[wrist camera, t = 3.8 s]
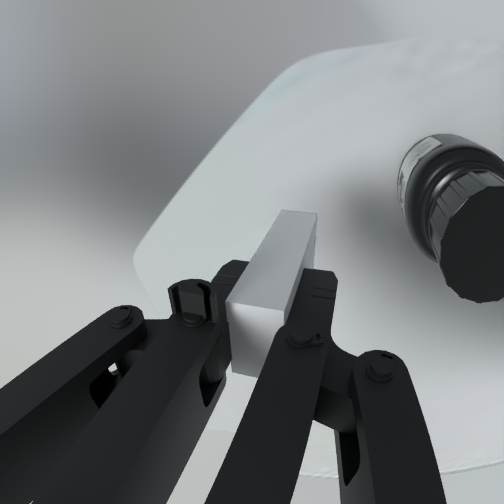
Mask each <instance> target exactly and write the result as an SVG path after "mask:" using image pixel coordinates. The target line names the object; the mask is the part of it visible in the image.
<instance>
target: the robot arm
mask: <svg viewBox="0 0 504 504" xmlns="http://www.w3.org/2000/svg"><path fill="white" fill-rule="evenodd" d="M316 227H317V213H310V212H300V211H290V210H282V211H281V212H280V214H279V215H278V217H277V219H276V220H275V222H274V224H273V225H272V227H271V228H270V230H269V232H268V233H267V235H266V236H265V238H264V240H263V241H262V243H261V244H260V246H259V248H258V249H257V251H256V253H255V254H254V256H253V257H252V259H251V261H250V262H248V261H240V260H232V261H230V262H228V263H227V264H225V265H223V266H222V267H221V269H220V270H219V271H218V273H217V274H216V276H215V277H214V278H213V280H212V281H211V283H210V282H208V281H205V280H202V279H188V280H182V281H180V282H177V283H175V284H173V285H172V286H170V287H169V288H168V294H169V299H170V303H171V308H172V313H173V314H172V315H171V316H170V318H169V319H157V320H156V319H155V320H154V319H152V320H151V319H147V320H146V319H144V316H143V313H142V311H141V310H140V309H139V308H138V307H135V306H132V305H122V306H118V307H114V308H113V309H111V310H109V311H107V312H106V313H104V314H103V315H101V316H100V317H98V318H97V319H96V320H94V321H93V322H91V323H90V324H88V325H87V326H86V327H84V328H83V329H81V330H80V331H79V332H77V333H76V334H74V335H73V336H72V337H70V338H69V339H67V340H66V341H65V342H63V343H62V344H61V345H59V346H58V347H56V348H55V349H54V350H53V351H51V352H49V353H48V354H47V355H45V356H44V357H43V358H41V359H40V360H39V361H37V362H36V363H34V364H33V365H32V366H30V367H29V368H28V369H26V370H25V371H24V372H22V373H21V374H20V375H18V376H17V377H16V378H14V379H13V380H12V381H10V382H9V383H8V384H6V385H5V386H4V387H2V388H1V389H0V504H30V503H31V502H32V501H33V500H34V501H33V502H32V503H31V504H166V503H167V501H168V499H169V497H170V495H171V493H172V491H173V489H174V487H175V485H176V484H177V482H178V480H179V478H180V476H181V474H182V472H183V470H184V468H185V466H186V464H187V462H188V460H189V458H190V456H191V454H192V452H193V450H194V448H195V446H196V444H197V442H198V440H199V438H200V436H201V434H202V432H203V430H204V428H205V426H206V424H207V422H208V420H209V418H210V416H211V414H212V412H213V410H214V408H215V406H216V404H217V402H218V400H219V398H220V395H221V393H222V391H223V389H224V387H225V384H226V370H227V368H228V366H229V364H230V362H231V367H232V372H234V373H238V374H243V375H247V376H252V377H257V378H258V380H257V383H256V385H255V388H254V390H253V393H252V395H251V397H250V400H249V402H248V405H247V407H246V410H245V412H244V414H243V417H242V419H241V422H240V424H239V426H238V429H237V431H236V434H235V436H234V438H233V441H232V443H231V445H230V448H229V450H228V452H227V454H226V457H225V459H224V461H223V464H222V466H221V468H220V470H219V472H218V475H217V477H216V479H215V482H214V484H213V486H212V488H211V490H210V492H209V494H208V497H207V499H206V501H205V503H204V504H290V502H291V499H292V496H293V492H294V489H295V485H296V482H297V479H298V475H299V471H300V468H301V464H302V460H303V457H304V453H305V449H306V445H307V441H308V437H309V433H310V429H311V425H312V421H313V420H315V421H317V422H319V423H321V424H323V425H325V426H328V427H330V428H332V429H334V434H335V444H336V453H337V464H338V475H339V486H340V499H341V504H447V503H446V498H445V494H444V489H443V486H442V482H441V477H440V473H439V469H438V465H437V461H436V458H435V454H434V450H433V447H432V443H431V440H430V436H429V433H428V429H427V426H426V423H425V420H424V416H423V413H422V410H421V407H420V404H419V401H418V398H417V395H416V392H415V389H414V386H413V383H412V380H411V377H410V375H409V372H408V369H407V367H406V365H405V364H404V362H403V360H401V359H400V358H399V357H398V356H396V355H395V354H393V353H390V352H387V351H382V350H372V351H368V352H365V353H363V354H362V355H360V356H358V357H357V356H354V355H352V354H349V353H347V352H345V351H343V350H342V349H340V348H339V347H338V346H337V345H336V344H335V343H334V341H333V340H332V337H331V324H332V318H333V312H334V305H335V298H336V291H337V284H338V280H337V278H336V276H335V274H334V273H333V272H332V271H325V270H317V269H313V267H314V255H315V242H316ZM114 363H115V364H116V367H117V370H115V371H113V372H109V370H108V368H109V367H110V366H111V365H112V364H114Z"/></svg>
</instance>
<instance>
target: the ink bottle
mask: <svg viewBox="0 0 504 504" xmlns="http://www.w3.org/2000/svg"><path fill="white" fill-rule="evenodd" d="M397 188H398V197H399V201H400V204H401V207H402V210H403V213H404V216H405V219H406V222H407V225H408V228H409V230H410V233H411V236H412V238H413V240H414V242H415V243H416V245H417V246H418V248H419V249H420V250H421V251H422V253H423V254H425V255H426V256H427V257H428V258H429V259H431V260H432V261H434V262H436V263H438V264H439V266H440V268H441V270H442V273H443V276H444V278H445V281H446V284H447V285H448V286H449V287H451V288H452V289H453V290H454V291H455V292H456V293H457V294H458V295H459V297H461V298H463V299H464V298H465V299H468V300H471V301H474V302H476V303H482V302H491V301H499V300H501V299H502V298H504V161H503V160H502V159H501V158H500V157H498V156H497V155H496V154H494V153H493V152H491V151H490V150H488V149H486V148H484V147H482V146H480V145H478V144H476V143H474V142H472V141H469V140H467V139H465V138H463V137H460V136H457V135H452V134H437V135H432V136H429V137H426V138H424V139H422V140H420V141H419V142H417V143H416V144H415V145H414V146H413V147H412V148H411V149H410V150H409V151H408V152H407V154H406V155H405V157H404V159H403V161H402V164H401V166H400V170H399V174H398V182H397Z"/></svg>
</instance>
